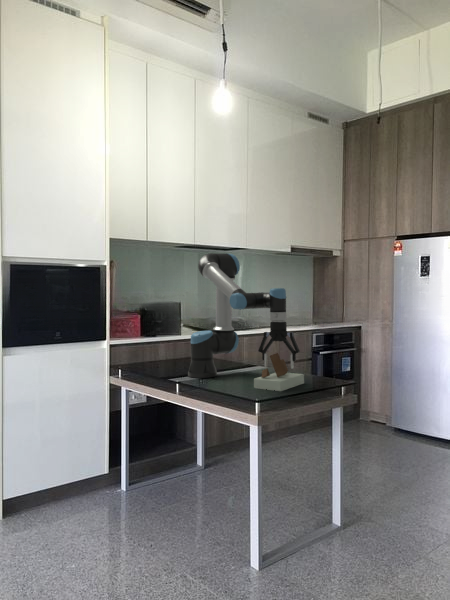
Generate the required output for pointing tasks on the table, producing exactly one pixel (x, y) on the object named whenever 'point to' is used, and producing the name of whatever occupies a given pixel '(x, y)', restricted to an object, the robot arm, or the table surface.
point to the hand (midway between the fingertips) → (279, 367)
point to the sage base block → (279, 381)
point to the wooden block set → (276, 366)
